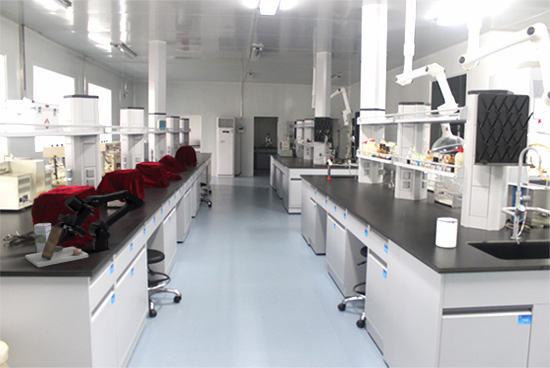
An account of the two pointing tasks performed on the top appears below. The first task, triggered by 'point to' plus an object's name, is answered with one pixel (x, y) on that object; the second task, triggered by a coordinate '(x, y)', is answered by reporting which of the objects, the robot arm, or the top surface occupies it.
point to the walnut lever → (51, 242)
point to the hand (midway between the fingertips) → (59, 243)
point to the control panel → (55, 257)
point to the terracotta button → (76, 251)
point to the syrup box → (41, 235)
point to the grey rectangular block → (58, 248)
